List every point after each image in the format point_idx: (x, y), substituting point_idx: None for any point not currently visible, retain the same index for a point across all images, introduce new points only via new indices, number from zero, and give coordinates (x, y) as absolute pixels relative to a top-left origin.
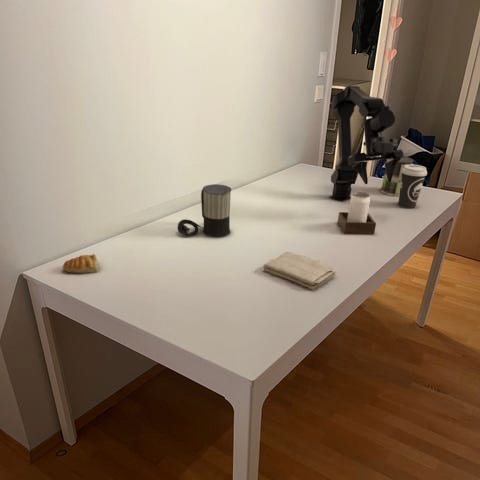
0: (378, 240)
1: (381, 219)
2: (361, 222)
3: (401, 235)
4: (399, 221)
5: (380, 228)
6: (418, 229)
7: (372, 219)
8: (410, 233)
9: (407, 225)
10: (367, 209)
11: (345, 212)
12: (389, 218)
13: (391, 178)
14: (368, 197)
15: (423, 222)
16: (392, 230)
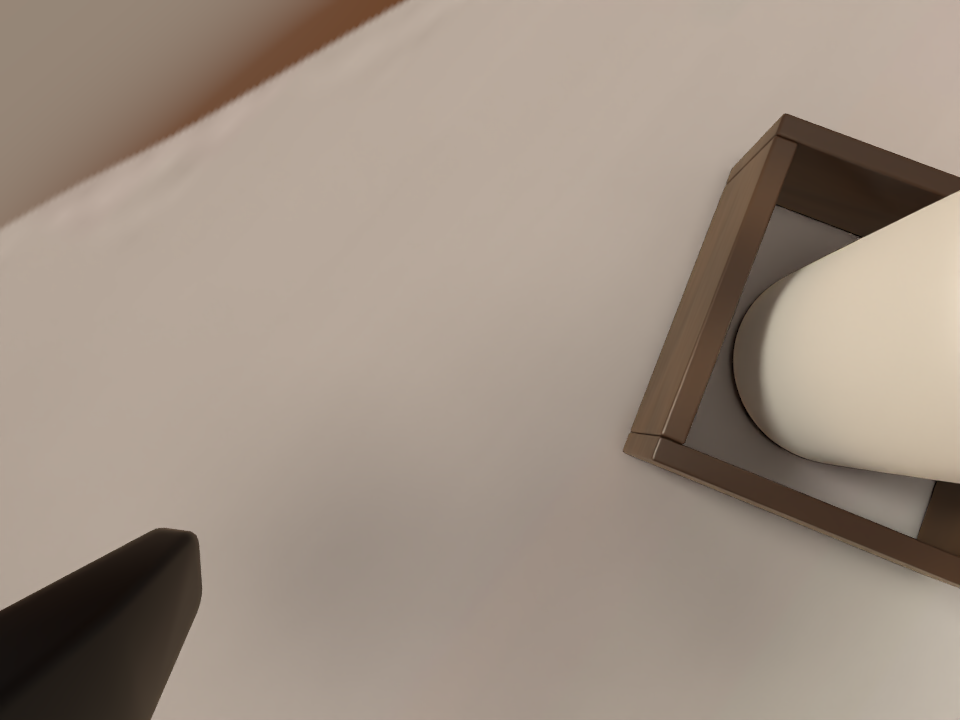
0: (781, 35)
1: (378, 490)
2: (951, 188)
3: (483, 60)
4: (232, 372)
5: (563, 277)
6: (209, 126)
7: (752, 228)
8: (362, 71)
9: (235, 250)
10: (939, 200)
11: (951, 566)
12: (271, 485)
13: (101, 563)
14: None
15: (13, 261)
16: (480, 192)
